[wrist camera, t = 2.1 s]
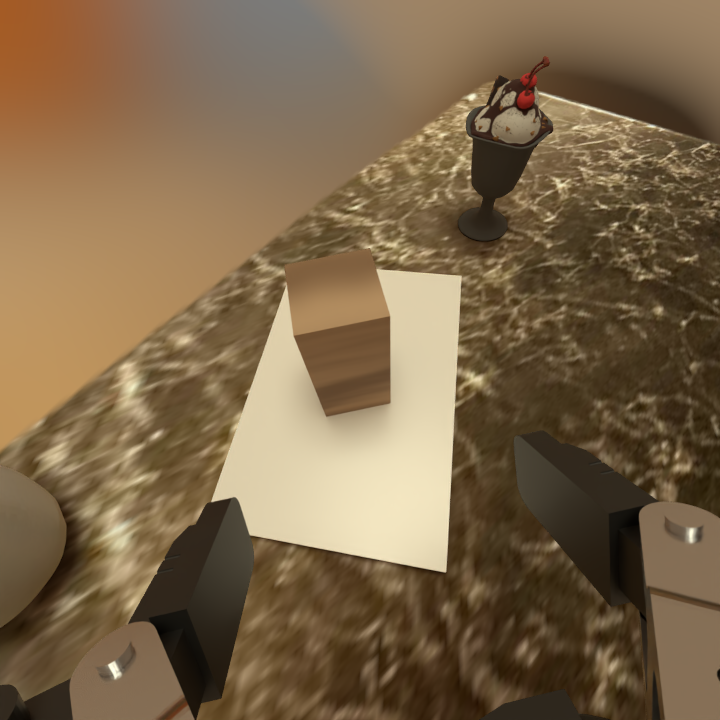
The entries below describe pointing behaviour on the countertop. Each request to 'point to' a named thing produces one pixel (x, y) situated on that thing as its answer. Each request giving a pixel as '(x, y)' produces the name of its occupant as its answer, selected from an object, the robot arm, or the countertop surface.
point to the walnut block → (342, 329)
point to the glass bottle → (26, 541)
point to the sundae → (502, 148)
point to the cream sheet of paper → (356, 440)
